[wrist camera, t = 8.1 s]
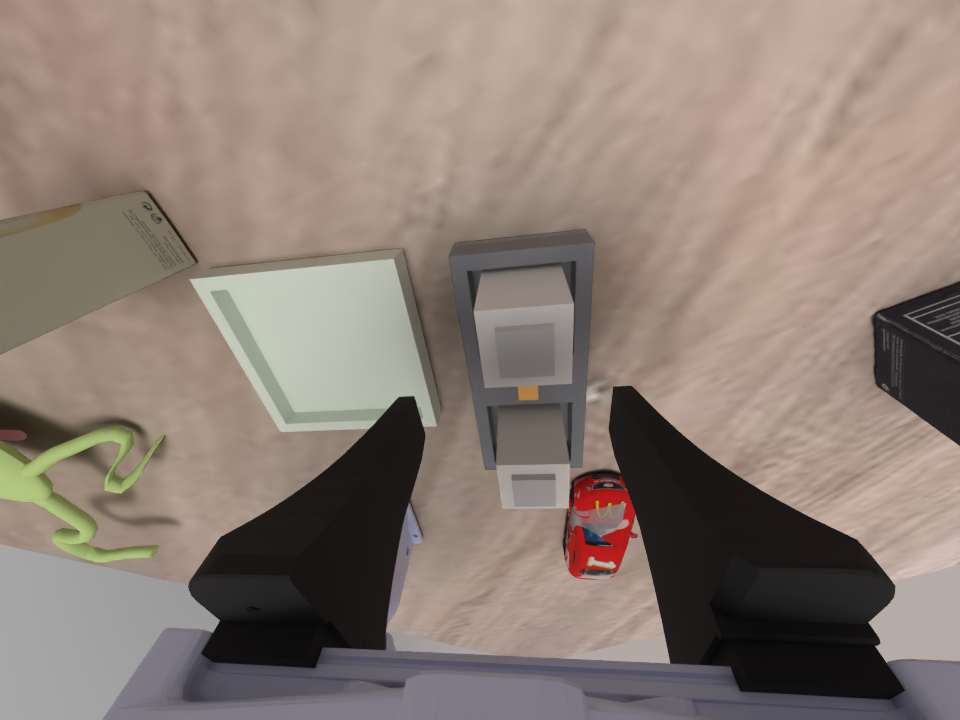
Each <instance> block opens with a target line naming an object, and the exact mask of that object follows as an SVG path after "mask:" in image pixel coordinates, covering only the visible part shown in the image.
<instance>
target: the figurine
mask: <svg viewBox="0 0 960 720" xmlns="http://www.w3.org/2000/svg"><path fill="white" fill-rule="evenodd" d="M163 437H164V435H163V436H161V437H160V438H159V439H158V440H157V441H156V442H155V443H154V445H153V446H152V448H151V449H150V450H149V452H148V453H147V454H146V456H145V457H144V459H143V460H142V461H141V463H140V464H139V465H138V466H137V467H136V469H135V470H134V471H133V472H132V473H131V474H129V475H128V476H127V477H126V478H124V479H121V478H119V477H116V476H114V473H115V470H116V467H117V465H118V464H119V463H120V461H121V460H122V459H123V458H124V457H125V456H126V454H127V453H128V452H129V450H130V449H131V447H132V446H133V445H134V439H133V431H130V430H127V429H124V428H121V427H117V426H116V427H109V428H103V429H98V430H95V431H92V432H90V433H87V434H85V435H82V436H80V437H77V438H75V439H72V440H70V441H67V442H65V443H62V444H60V445H57V446H54V447H52V448H50V449H49V450H47V451H45V452H43V453H42V454H40V455H39V456H37V457H36V458H35V459H33V460H32V461H31V460H30V459H28V458H27V457H26V456H24V455H23V454H22V453H20V452H19V451H18V450H16V449H15V448H13V447H11V446H10V445H8V444H6V443H5V442H3V441H1V440H11V441H22V440H24V439H26V438H27V435H26V434H25V433H24V432H22V431H18V430H0V498H2V499H8V500H14V501H20V502H30V501H32V502H34V503H36V504H38V505H40V506H42V507H44V508H46V509H47V510H49V511H50V512H52V513H53V514H55V515H56V516H58V517H60V518H61V519H63V520H64V521H66V522H68V523H69V524H71V525H72V526H74V527H75V528H76V529H77V530H73V529H67V528H62V529H59V530H57V531H56V532H55V533H54V534H53V536H52V542H53V543H55V544H56V545H57V546H58V547H59V548H61V549H63V550H65V551H66V552H68V553H70V554H73V555H75V556H78V557H80V558H83V559H87V560H90V561H94V562H99V563H103V562H110V561H113V560H120V559H127V558H151V557H153V556H154V555H155V554H156V552H157V551H158V549H159V547H160V546H159V545H148V546H134V547H126V548H118V549H114V550H105V549H101V548H98V547H95V546H91V545H89V544H87V543H85V542H89V541H90V540H92V539H93V538H94V537H95V535H96V532H97V530H98V526H97V523H96V521H95V520H94V519H93V518H92V517H91V516H90V515H89V514H87V513H86V512H84V511H83V510H81V509H80V508H78V507H77V506H75V505H74V504H72V503H71V502H69V501H68V500H66V499H65V498H63V497H62V496H60V495H59V494H57V493H55V492H53V484H52V482H51V480H50V479H49V478H48V477H47V476H46V474H45V473H44V471H46V470H47V469H48V468H49V467H51V466H52V465H54V464H55V463H57V462H58V461H60V460H62V459H64V458H67V457H69V456H72V455H74V454H76V453H79V452H81V451H83V450H85V449H87V448H90V447H92V446H94V445H96V444H98V443H103V442H107V441H114V442H117V443H120V444H121V447H120V452H119V455H118V457H117V459H116V460H115V462H114V464H113V466H112V467H111V469H110V471H109V473H108V474H107V476H106V478H105V491H110V492H115V493H119V494H122V493H123V492H125V491H126V490H127V489H129V488H130V487H131V486H133V484H134V483H135V482H136V481H137V479H138V478H139V477H140V475H141V474H142V472H143V470H144V469H145V467H146V465H147V463H148V461H149V459H150V457H151V455H152V453H153V452H154V450H155V448H156V447H157V446H158V444H159V443H160V442H161V440H162V439H163Z"/></svg>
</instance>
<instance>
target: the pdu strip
mask: <svg viewBox="0 0 960 720" xmlns="http://www.w3.org/2000/svg"><path fill="white" fill-rule="evenodd" d="M593 259H594V241H593V240H592V238H591V237H590V235H589V234H588V232H587V231H586V229H584V230H575V231H565V232H556V233H546V234H536V235H527V236H517V237H507V238H498V239H488V240H479V241H469V242H459V243H455V244H454V246H453V248H452V250H451V253H450V255H449V263H450V268H451V274H452V280H453V286H454V292H455V298H456V303H457V309H458V315H459V321H460V327H461V332H462V338H463V344H464V350H465V356H466V361H467V367H468V373H469V379H470V385H471V390H472V396H473V402H474V408H475V414H476V419H477V425H478V431H479V437H480V443H481V449H482V454H483V460H484V466H485V470H497V468H496V456H497V434H498V412H499V405H522V404H545V403H560V408H561V414H562V420H563V426H564V432H565V438H566V443H567V449H568V455H569V461H570V468H582V462H583V443H584V425H585V407H586V388H587V370H588V351H589V333H590V314H591V296H592V277H593ZM558 262H560V263H561V266H562V269H563V272H564V275H565V278H566V281H567V284H568V287H569V290H570V293H571V296H572V299H573V302H574V323H573V363H572V384H558V385H538V386H518V387H498V388H485V386H484V379H483V372H482V365H481V359H480V352H479V345H478V338H477V331H476V324H475V317H474V307H475V302H476V297H477V292H478V287H479V282H480V277H481V272H482V270H483V269H494V268H504V267H515V266H526V265H536V264H547V263H558Z"/></svg>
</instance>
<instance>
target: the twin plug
mask: <svg viewBox="0 0 960 720" xmlns="http://www.w3.org/2000/svg"><path fill="white" fill-rule="evenodd" d="M496 468H497V475H498V482H499V489H500V496H501V503H502V509H550V508H569V481H570V461H569V455H568V449H567V443H566V438H565V432H564V426H563V420H562V414H561V408H560V403H545V404H522V405H499V412H498V434H497V456H496Z"/></svg>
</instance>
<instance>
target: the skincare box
mask: <svg viewBox="0 0 960 720" xmlns="http://www.w3.org/2000/svg"><path fill="white" fill-rule="evenodd" d="M195 264H196V262H195V260H194V259H193V258H192V256H191V255H190V253H189V252H188V250H187V249H186V247H185V246H184V244H183V243H182V242H181V240H180V239H179V237H178V236H177V234H176V233H175V231H174V230H173V229H172V227H171V226H170V224H169V223H168V221H167V220H166V219H165V217H164V216H163V215H162V213H161V212H160V211H159V209H158V208H157V206H156V205H155V204H154V202H153V201H152V200H151V198H150V197H149V196H148V194H147V193H146V192H144V191H139V192H133V193H128V194H123V195H118V196H114V197H109V198H105V199H100V200H95V201H91V202H86V203H81V204H76V205H71V206H67V207H62V208H57V209H52V210H47V211H42V212H37V213H32V214H27V215H23V216H18V217H13V218H8V219H3V220H0V354H2V353H5V352H7V351H9V350H11V349H13V348H15V347H18V346H20V345H22V344H24V343H26V342H28V341H31V340H33V339H35V338H37V337H39V336H42V335H44V334H46V333H48V332H50V331H52V330H54V329H57V328H59V327H61V326H63V325H65V324H67V323H69V322H71V321H74V320H76V319H78V318H80V317H82V316H84V315H86V314H89V313H91V312H93V311H95V310H97V309H99V308H102V307H104V306H106V305H108V304H110V303H112V302H115V301H117V300H119V299H121V298H124V297H126V296H128V295H130V294H132V293H134V292H136V291H138V290H141V289H143V288H145V287H147V286H149V285H151V284H154V283H156V282H158V281H160V280H162V279H165V278H167V277H169V276H171V275H173V274H175V273H177V272H180V271H182V270H184V269H186V268H189V267H191V266H193V265H195Z"/></svg>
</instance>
